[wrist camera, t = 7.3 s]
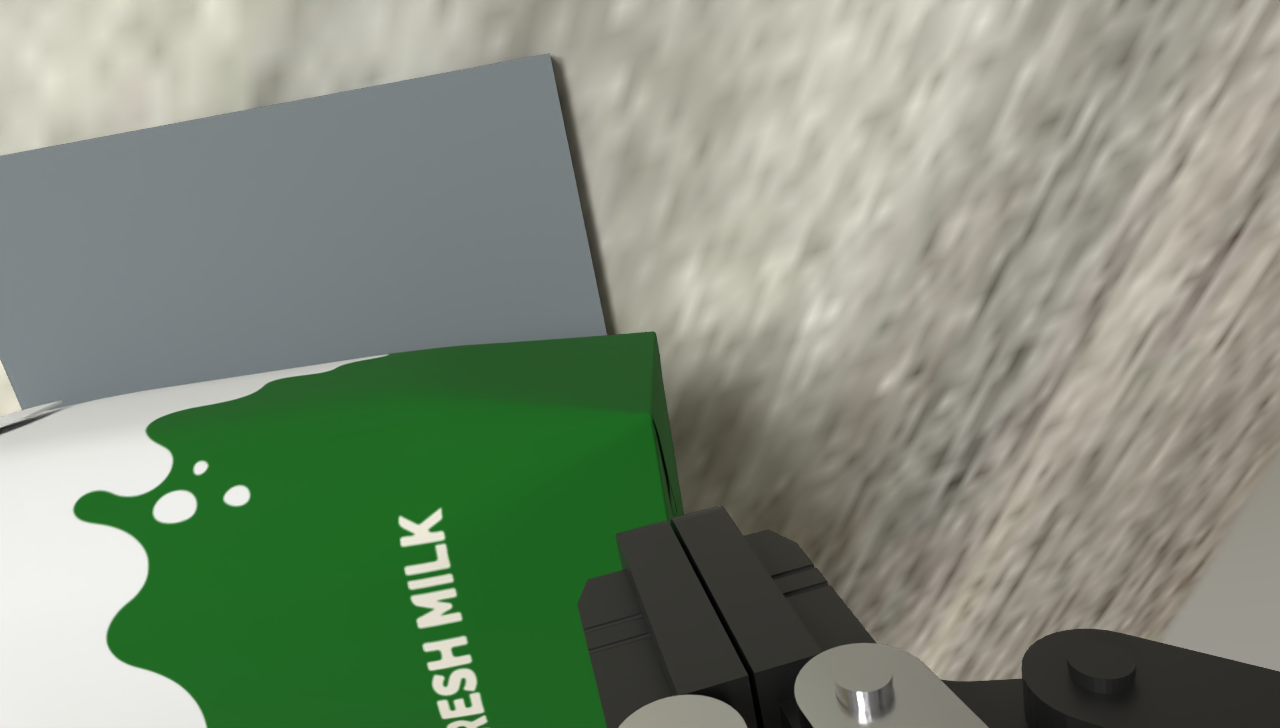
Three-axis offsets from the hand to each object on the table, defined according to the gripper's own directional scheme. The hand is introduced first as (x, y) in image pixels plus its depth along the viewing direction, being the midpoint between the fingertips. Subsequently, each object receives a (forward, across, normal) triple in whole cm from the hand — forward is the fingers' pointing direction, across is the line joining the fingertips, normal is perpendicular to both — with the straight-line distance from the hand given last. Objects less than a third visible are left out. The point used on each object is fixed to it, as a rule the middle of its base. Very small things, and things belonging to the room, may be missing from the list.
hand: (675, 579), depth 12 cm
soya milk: (+7, -2, +3) cm, 8 cm away
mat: (+15, +7, 0) cm, 17 cm away
